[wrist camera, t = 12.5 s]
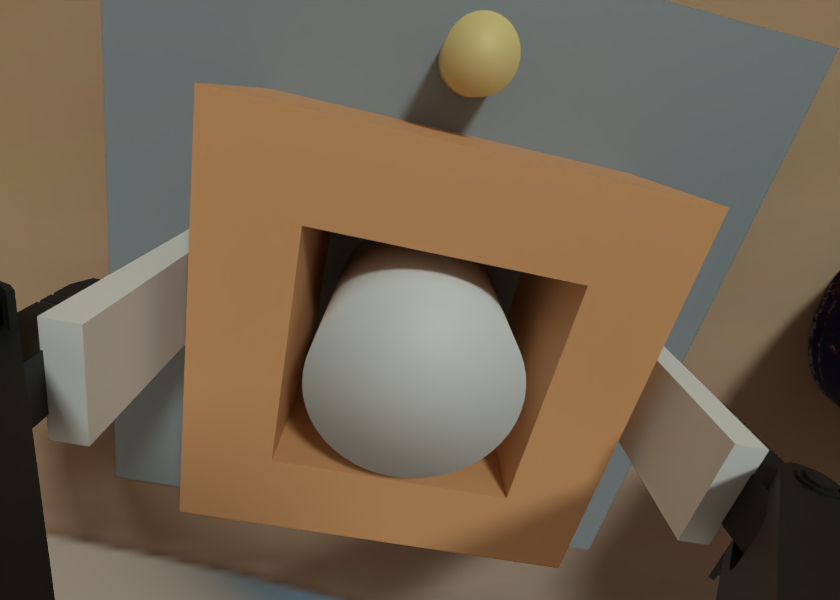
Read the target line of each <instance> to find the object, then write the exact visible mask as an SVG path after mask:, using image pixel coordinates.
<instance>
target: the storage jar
mask: <svg viewBox="0 0 840 600" xmlns="http://www.w3.org/2000/svg"><path fill="white" fill-rule="evenodd" d="M808 355H809V362H810V368H811V371H812V374H813V376H814V379H815V381H816V383H817V384H818V386H819V387H820V389H821V391H822V392H823V393H824V394H825V395H826V396H827V397H828V398H829V399H830V400H831V401H832V402H833V403H835V404H836V405H838V406H839V407H840V273H839V274H838V275H837V276H836V278H835V279H834V280H833V282H832V283H831V285H830V286H829V288H828V290H827V292H826V293H825V295H824V297H823V298H822V300H821V302H820V304H819V307H818V309H817V312H816V314H815V316H814V319H813V323H812V327H811V331H810V335H809V348H808Z"/></svg>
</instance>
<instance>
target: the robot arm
mask: <svg viewBox="0 0 840 600" xmlns="http://www.w3.org/2000/svg"><path fill="white" fill-rule="evenodd" d="M188 255H189V229H188V230H186V231H185V232H183V233H181V234H179V235H178V236H176V237H174V238H172V239H171V240H169V241H167V242H165V243H164V244H162V245H160V246H158V247H157V248H155V249H153V250H151V251H150V252H148V253H146V254H145V255H143V256H141V257H139V258H138V259H136V260H134V261H132V262H131V263H129V264H127V265H125V266H124V267H122V268H120V269H118V270H117V271H115V272H113V273H111V274H110V275H108V276H106V277H105V278H103V279H101V280H100V279H95V278H92V279H88V280H84V281H80V282H77V283H73V284H70V285H68V286H66V287H64V288H62V289H60V290H58V291H57V292H55V293H54V295H49V296H47V297H45V298H44V299H42V300H40V303H39V302H36V303H34V304H32V305H31V306H29V307H27V308H25V309H23V310H21V311H19V312H18V313H17V308H16V299H15V291H14V289H13V288H12V287H11V285H9V284H7V283H4V282H1V281H0V600H55V598H54V590H53V583H52V576H51V567H50V560H49V553H48V545H47V537H46V530H45V522H44V515H43V507H42V500H41V492H40V485H39V477H38V469H37V462H36V454H35V447H34V439H33V432H32V428H33V427H35V426H36V425H37V424H38V423H39V422H40V421H41V420H43V419H44V418H45V417H46V416H47V424H48V435H49V440H51V441H58V442H64V443H70V444H76V445H83V446H90V445H91V444H92V443H93V442H94V441H95V440H96V439H97V438H98V437H99V436H100V435H101V434H102V433H103V431H104V430H105V429H106V428H107V427H108V426H109V425H110V424H111V423H112V422H113V421H114V420H115V419H116V418H117V417H118V415H119V414H120V413H121V412H122V411H123V410H124V409H125V408H126V407H127V406H128V405H129V404H130V403H131V402H132V400H133V399H134V398H135V397H136V396H137V395H138V394H139V393H140V392H141V391H142V390H143V389H144V388H145V387H146V386H147V384H148V383H149V382H150V381H151V380H152V379H153V378H154V377H155V376H156V375H157V374H158V373H159V372H160V371H161V369H162V368H163V367H164V366H165V365H166V364H167V363H168V362H169V361H170V360H171V359H172V358H173V357H174V356H175V355H176V353H177V352H178V351H179V350H180V349H181V348H182V347H183V346H184V345H185V339H186V311H187V283H188ZM619 443H620V445H621V446H622V448H623V450H624V451H625V453H626V455H627V456H628V458H629V460H630V461H631V463H632V465H633V466H634V468H635V470H636V471H637V473H638V475H639V476H640V478H641V480H642V481H643V483H644V485H645V486H646V488H647V490H648V491H649V493H650V495H651V496H652V498H653V500H654V501H655V503H656V505H657V506H658V508H659V510H660V511H661V513H662V515H663V516H664V518H665V520H666V521H667V523H668V525H669V526H670V528H671V530H672V531H673V533H674V535H675V536H676V538H677V540H678V541H685V542H691V543H697V544H703V545H710V543H711V542H712V540H713V539H714V537H715V535H716V534H717V532H718V531H719V529H720V528H721V526H722V525H723V526H724V528H725V529H726V531H727V532H728V533H729V535H730V536H731V537H732V539H733V540H732V542H731V543H730V545H729V546H728V548H727V549H726V551H725V553H724V554H723V556H722V557H721V559H720V560H719V562H718V563H717V565H716V566H715V568H714V569H713V571H712V572H711V574H710V575H709V577H710V578H711V579H713V580H715V578H716V577H717V576H718V575H720V580H719V586H718V592H717V598H716V600H840V486H839V485H838V484H837V483H835V482H834V481H832V480H831V479H830V478H828V477H826V476H825V475H823V474H821V473H819V472H817V471H815V470H813V469H810V468H808V467H806V466H803V465H800V464H795V463H791V462H790V463H784V462H783V461H782V460H781V459H780V458H779V457H778V456H777V455H776V454H775V453H774V452H773V451H772V450H771V449H770V448H769V447H768V446H767V445H766V444H765V443H764V442H763V441H762V440H761V439H760V438H759V437H758V436H756V435H755V434H754V433H752V431H751V430H750V429H749V428H748V427H747V426H746V425H745V424H744V423H742V422H741V420H740V419H739V418H738V417H737V416H736V415H735V414H734V413H733V412H732V411H731V410H730V409H729V408H728V407H726V406H725V405H724V404H722V403H721V402H720V401H719V400H718V399H717V398H716V397H715V396H714V395H713V394H712V393H711V392H710V391H709V390H708V389H707V388H706V387H705V386H704V385H703V384H702V383H701V382H700V381H699V380H698V379H697V378H696V377H695V376H694V375H693V374H692V373H691V372H690V371H689V370H688V369H687V368H686V367H685V366H684V365H683V364H682V363H681V362H680V361H679V360H678V359H677V358H676V357H675V356H673V355H672V354H671V353H670V352H669V351H668V350H667V349H666V348H665V347H663V349H662V351H661V353H660V355H659V357H658V359H657V362H656V364H655V366H654V368H653V370H652V372H651V374H650V376H649V378H648V380H647V383H646V385H645V387H644V389H643V391H642V393H641V395H640V397H639V399H638V402H637V404H636V406H635V408H634V410H633V412H632V414H631V416H630V418H629V421H628V423H627V425H626V427H625V429H624V431H623V433H622V435H621V437H620V440H619Z"/></svg>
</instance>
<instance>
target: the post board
mask: <svg viewBox="0 0 840 600" xmlns="http://www.w3.org/2000/svg"><path fill="white" fill-rule="evenodd" d="M101 22H102V53H103V85H104V117H105V149H106V180H107V212H108V244H109V275H110V274H111V273H113V272H115V271H117V270H118V269H120V268H122V267H124V266H125V265H127V264H129V263H131V262H132V261H134V260H136V259H138V258H139V257H141V256H143V255H145V254H146V253H148V252H150V251H151V250H153V249H155V248H157V247H158V246H160V245H162V244H164V243H165V242H167V241H169V240H171V239H172V238H174V237H176V236H178V235H179V234H181V233H183V232H185V231H186V230H188V229H189V227H190V199H191V171H192V143H193V115H194V86H195V83H206V84H219V85H232V86H245V87H257V88H270V89H274V90H278V91H282V92H286V93H291V94H295V95H299V96H303V97H308V98H312V99H316V100H320V101H325V102H329V103H333V104H337V105H342V106H346V107H350V108H354V109H359V110H363V111H367V112H371V113H375V114H380V115H384V116H388V117H392V118H397V119H401V120H405V121H409V122H414V123H418V124H422V125H426V126H431V127H435V128H439V129H443V130H448V131H452V132H456V133H460V134H465V135H469V136H473V137H477V138H481V139H486V140H490V141H494V142H498V143H503V144H507V145H511V146H515V147H520V148H524V149H528V150H532V151H537V152H541V153H545V154H549V155H554V156H558V157H562V158H566V159H570V160H575V161H579V162H583V163H587V164H592V165H596V166H600V167H604V168H609V169H613V170H617V171H621V172H626V173H630V174H633V175H636V176H639V177H642V178H644V179H647V180H650V181H653V182H656V183H659V184H662V185H665V186H668V187H671V188H674V189H677V190H680V191H682V192H685V193H688V194H691V195H694V196H697V197H700V198H703V199H706V200H709V201H712V202H715V203H718V204H720V205H723V206H726V207H729V210H728V212H727V214H726V216H725V218H724V220H723V222H722V224H721V227H720V229H719V231H718V233H717V235H716V237H715V239H714V241H713V243H712V246H711V248H710V250H709V252H708V254H707V256H706V258H705V260H704V262H703V264H702V267H701V269H700V271H699V273H698V275H697V277H696V279H695V281H694V283H693V286H692V288H691V290H690V292H689V294H688V296H687V298H686V300H685V302H684V305H683V307H682V309H681V311H680V313H679V315H678V317H677V319H676V321H675V324H674V326H673V328H672V330H671V332H670V334H669V336H668V338H667V340H666V343H665V345H664V347H665V348H666V349H667V350H668V351H669V352H670V353H671V354H672V355H673V356H675V357H676V358H677V359H678V360H679V361H680V362H681V363H682V362H683V360H684V358H685V356H686V354H687V352H688V350H689V348H690V346H691V344H692V342H693V340H694V338H695V336H696V334H697V332H698V330H699V328H700V326H701V324H702V322H703V320H704V318H705V316H706V314H707V312H708V310H709V308H710V306H711V303H712V301H713V299H714V297H715V295H716V293H717V291H718V289H719V287H720V285H721V283H722V281H723V279H724V277H725V275H726V273H727V271H728V269H729V267H730V265H731V263H732V261H733V259H734V257H735V255H736V253H737V251H738V249H739V247H740V245H741V243H742V241H743V239H744V237H745V235H746V233H747V231H748V229H749V227H750V225H751V223H752V221H753V219H754V217H755V215H756V213H757V211H758V209H759V207H760V205H761V203H762V201H763V199H764V197H765V195H766V193H767V191H768V189H769V187H770V185H771V183H772V181H773V179H774V177H775V175H776V173H777V171H778V169H779V167H780V165H781V163H782V161H783V159H784V157H785V155H786V153H787V151H788V149H789V147H790V145H791V143H792V141H793V139H794V137H795V135H796V133H797V131H798V129H799V127H800V125H801V123H802V121H803V119H804V117H805V115H806V113H807V111H808V109H809V107H810V105H811V103H812V101H813V99H814V97H815V95H816V93H817V91H818V89H819V87H820V85H821V83H822V81H823V79H824V77H825V75H826V73H827V71H828V69H829V67H830V65H831V63H832V61H833V59H834V57H835V55H836V53H837V51H838V49H839V48H836V47H832V46H829V45H825V44H821V43H818V42H814V41H810V40H807V39H803V38H800V37H796V36H792V35H789V34H785V33H781V32H778V31H774V30H771V29H767V28H763V27H760V26H756V25H752V24H749V23H745V22H741V21H738V20H734V19H731V18H727V17H723V16H720V15H716V14H712V13H709V12H705V11H701V10H698V9H694V8H691V7H687V6H683V5H680V4H676V3H672V2H669V1H665V0H101ZM520 275H521V272H520V271H515V270H511V269H506V268H501V267H496V266H491V265H487V264H482V263H477V262H472V261H468V260H463V259H458V258H453V257H449V256H444V255H439V254H434V253H430V252H425V251H420V250H415V249H411V248H406V247H401V246H396V245H391V244H387V243H382V242H377V241H372V240H368V239H363V238H358V237H353V236H349V235H344V234H339V233H334V232H330V236H329V242H328V249H327V255H326V262H325V268H324V275H323V282H322V288H321V295H320V301H319V308H318V314H317V321H316V328H315V334H314V340H313V342H312V345H311V347H310V350H309V352H308V355H307V357H306V360H305V365H304V369H303V378H302V389H303V398H304V402H305V406H306V410H307V412H308V415H309V417H310V419H311V421H312V423H313V425H314V426H315V428H316V430H317V431H318V433H319V434H320V435H321V437H322V438H323V439H324V440H325V441H326V442H327V443H328V444H329V445H330V446H331V447H332V448H333V449H334V450H335V451H336V452H338V453H339V454H340V455H341V456H343V457H344V458H346V459H347V460H349V461H351V462H352V463H354V464H356V465H358V466H360V467H362V468H365V469H367V470H370V471H373V472H376V473H379V474H383V475H388V476H392V477H401V478H427V477H435V476H440V475H445V474H448V473H452V472H455V471H458V470H461V469H463V468H465V467H468V466H470V465H472V464H474V463H475V462H477V461H479V460H481V459H482V458H484V457H485V456H486V455H488V454H489V453H490V452H492V451H493V450H494V449H495V448H496V447H497V446H498V445H499V444H500V443H502V441H503V440H504V439H505V438H506V436H507V435H508V434H509V433H510V431H511V430H512V428H513V427H514V425H515V423H516V422H517V419H518V417H519V415H520V413H521V410H522V407H523V403H524V400H525V392H526V372H525V367H524V362H523V359H522V356H521V353H520V350H519V348H518V345H517V343H516V340H515V338H514V336H513V333H512V331H511V329H510V326H509V324H508V322H507V316H508V313H509V310H510V307H511V303H512V300H513V297H514V294H515V291H516V288H517V285H518V282H519V279H520ZM184 367H185V345H184V346H183V347H182V348H181V349H180V350H179V351H178V352H177V353H176V355H175V356H174V357H173V358H172V359H171V360H170V361H169V362H168V363H167V364H166V365H165V366H164V367H163V368H162V369H161V371H160V372H159V373H158V374H157V375H156V376H155V377H154V378H153V379H152V380H151V381H150V382H149V383H148V384H147V386H146V387H145V388H144V389H143V390H142V391H141V392H140V393H139V394H138V395H137V396H136V397H135V398H134V399H133V400H132V402H131V403H130V404H129V405H128V406H127V407H126V408H125V409H124V410H123V411H122V412H121V413H120V414H119V415H118V417H117V418H116V419H115V420H114V435H115V466H116V477H120V478H126V479H133V480H139V481H145V482H152V483H158V484H165V485H171V486H178V487H180V479H181V451H182V423H183V395H184ZM631 464H632V463H631V461H630V460H629V458H628V456H627V455H626V453H625V451H624V450H623V448H622V446H621V445H620V443H619V442H618V444H617V446H616V448H615V450H614V452H613V454H612V456H611V459H610V461H609V463H608V465H607V467H606V469H605V471H604V473H603V475H602V478H601V480H600V482H599V484H598V486H597V488H596V490H595V492H594V494H593V496H592V499H591V501H590V503H589V505H588V507H587V509H586V511H585V513H584V515H583V518H582V520H581V522H580V524H579V526H578V528H577V530H576V532H575V534H574V537H573V539H572V541H571V543H570V545H569V547H574V548H580V549H586V550H589V548H590V546H591V544H592V542H593V540H594V538H595V536H596V534H597V532H598V530H599V528H600V526H601V524H602V522H603V520H604V518H605V516H606V514H607V512H608V510H609V508H610V506H611V504H612V502H613V500H614V498H615V496H616V494H617V492H618V490H619V488H620V486H621V484H622V482H623V480H624V478H625V476H626V474H627V472H628V470H629V468H630V466H631Z"/></svg>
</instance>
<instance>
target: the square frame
mask: <svg viewBox="0 0 840 600" xmlns="http://www.w3.org/2000/svg"><path fill="white" fill-rule="evenodd" d="M728 210H729V207H726V206H723V205H720V204H718V203H715V202H712V201H709V200H706V199H703V198H700V197H697V196H694V195H691V194H688V193H685V192H682V191H680V190H677V189H674V188H671V187H668V186H665V185H662V184H659V183H656V182H653V181H650V180H647V179H644V178H642V177H639V176H636V175H633V174H630V173H626V172H621V171H617V170H613V169H609V168H604V167H600V166H596V165H592V164H587V163H583V162H579V161H575V160H570V159H566V158H562V157H558V156H554V155H549V154H545V153H541V152H537V151H532V150H528V149H524V148H520V147H515V146H511V145H507V144H503V143H498V142H494V141H490V140H486V139H481V138H477V137H473V136H469V135H465V134H460V133H456V132H452V131H448V130H443V129H439V128H435V127H431V126H426V125H422V124H418V123H414V122H409V121H405V120H401V119H397V118H392V117H388V116H384V115H380V114H375V113H371V112H367V111H363V110H359V109H354V108H350V107H346V106H342V105H337V104H333V103H329V102H325V101H320V100H316V99H312V98H308V97H303V96H299V95H295V94H291V93H286V92H282V91H278V90H274V89H270V88H257V87H245V86H232V85H219V84H206V83H195V86H194V115H193V143H192V171H191V199H190V227H189V255H188V283H187V311H186V339H185V367H184V395H183V423H182V451H181V479H180V507H179V512H186V513H193V514H199V515H206V516H213V517H219V518H226V519H233V520H239V521H246V522H253V523H260V524H266V525H273V526H280V527H286V528H293V529H300V530H306V531H313V532H320V533H327V534H333V535H340V536H347V537H353V538H360V539H367V540H373V541H380V542H387V543H394V544H400V545H407V546H414V547H420V548H427V549H434V550H440V551H447V552H454V553H461V554H467V555H474V556H481V557H487V558H494V559H501V560H507V561H514V562H521V563H528V564H534V565H541V566H548V567H554V568H559V566H560V564H561V562H562V560H563V558H564V556H565V553H566V551H567V549H568V547H569V545H570V543H571V541H572V539H573V537H574V534H575V532H576V530H577V528H578V526H579V524H580V522H581V520H582V518H583V515H584V513H585V511H586V509H587V507H588V505H589V503H590V501H591V499H592V496H593V494H594V492H595V490H596V488H597V486H598V484H599V482H600V480H601V478H602V475H603V473H604V471H605V469H606V467H607V465H608V463H609V461H610V459H611V456H612V454H613V452H614V450H615V448H616V446H617V444H618V442H619V440H620V437H621V435H622V433H623V431H624V429H625V427H626V425H627V423H628V421H629V418H630V416H631V414H632V412H633V410H634V408H635V406H636V404H637V402H638V399H639V397H640V395H641V393H642V391H643V389H644V387H645V385H646V383H647V380H648V378H649V376H650V374H651V372H652V370H653V368H654V366H655V364H656V362H657V359H658V357H659V355H660V353H661V351H662V349H663V347H664V345H665V343H666V340H667V338H668V336H669V334H670V332H671V330H672V328H673V326H674V324H675V321H676V319H677V317H678V315H679V313H680V311H681V309H682V307H683V305H684V302H685V300H686V298H687V296H688V294H689V292H690V290H691V288H692V286H693V283H694V281H695V279H696V277H697V275H698V273H699V271H700V269H701V267H702V264H703V262H704V260H705V258H706V256H707V254H708V252H709V250H710V248H711V246H712V243H713V241H714V239H715V237H716V235H717V233H718V231H719V229H720V227H721V224H722V222H723V220H724V218H725V216H726V214H727V212H728ZM330 232H334V233H339V234H344V235H349V236H353V237H358V238H363V239H368V240H372V241H377V242H382V243H387V244H391V245H396V246H401V247H406V248H411V249H415V250H420V251H425V252H430V253H434V254H439V255H444V256H449V257H453V258H458V259H463V260H468V261H472V262H477V263H482V264H487V265H491V266H496V267H501V268H506V269H511V270H515V271H520V272H521V275H520V279H519V282H518V285H517V288H516V291H515V294H514V297H513V300H512V303H511V307H510V310H509V313H508V316H507V322H508V324H509V326H510V329H511V331H512V333H513V336H514V338H515V340H516V343H517V345H518V348H519V350H520V353H521V356H522V359H523V362H524V367H525V372H526V392H525V400H524V403H523V407H522V410H521V413H520V415H519V417H518V419H517V422H516V423H515V425H514V427H513V428H512V430H511V431H510V433H509V434H508V435H507V436H506V438H505V439H504V440H503V441H502V443H500V444H499V445H498V446H497V447H496V448H495V449H494V450H493V451H492V452H490V453H489V454H488V455H486V456H485V457H484V458H482V459H481V460H479V461H477V462H475V463H474V464H472V465H470V466H468V467H465V468H463V469H461V470H458V471H455V472H452V473H448V474H445V475H440V476H435V477H427V478H401V477H392V476H388V475H383V474H379V473H376V472H373V471H370V470H367V469H365V468H362V467H360V466H358V465H356V464H354V463H352V462H351V461H349V460H347V459H346V458H344V457H343V456H341V455H340V454H339V453H338V452H336V451H335V450H334V449H333V448H332V447H331V446H330V445H329V444H328V443H327V442H326V441H325V440H324V439H323V438H322V437H321V435H320V434H319V433H318V431H317V430H316V428H315V426H314V425H313V423H312V421H311V419H310V417H309V415H308V412H307V410H306V406H305V402H304V398H303V389H302V378H303V369H304V365H305V360H306V357H307V355H308V352H309V350H310V347H311V345H312V342H313V340H314V334H315V328H316V321H317V314H318V308H319V301H320V295H321V288H322V282H323V275H324V268H325V262H326V255H327V249H328V242H329V236H330Z"/></svg>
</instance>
